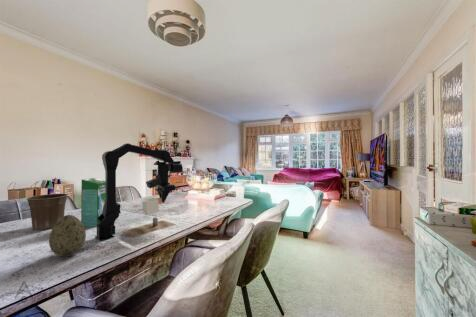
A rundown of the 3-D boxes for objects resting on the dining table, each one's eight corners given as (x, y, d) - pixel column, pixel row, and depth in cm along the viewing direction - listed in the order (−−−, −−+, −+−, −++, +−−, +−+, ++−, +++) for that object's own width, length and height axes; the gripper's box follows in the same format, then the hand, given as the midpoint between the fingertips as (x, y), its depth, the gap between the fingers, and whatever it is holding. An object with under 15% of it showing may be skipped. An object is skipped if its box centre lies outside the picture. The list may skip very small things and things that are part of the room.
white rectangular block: (144, 215, 107) (143, 202, 106) (140, 212, 111) (139, 200, 111) (166, 209, 114) (165, 197, 114) (161, 207, 119) (160, 196, 118)
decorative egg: (50, 253, 81) (50, 214, 81) (84, 246, 88) (85, 210, 88) (47, 265, 73) (48, 221, 72) (86, 256, 79) (86, 216, 79)
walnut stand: (133, 239, 96) (133, 228, 96) (121, 233, 103) (121, 222, 103) (176, 226, 115) (176, 217, 115) (162, 222, 122) (163, 213, 122)
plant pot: (16, 232, 103) (16, 199, 103) (43, 222, 119) (44, 193, 119) (52, 231, 105) (52, 198, 105) (74, 221, 121) (74, 193, 121)
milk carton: (97, 226, 113) (98, 179, 113) (80, 226, 113) (81, 179, 113) (108, 221, 122) (108, 177, 122) (92, 221, 122) (93, 177, 122)
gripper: (141, 172, 117) (141, 201, 117) (154, 175, 104) (154, 207, 104) (161, 172, 125) (161, 198, 125) (176, 174, 111) (175, 204, 111)
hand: (162, 202), depth 116 cm, fingers closed on white rectangular block
